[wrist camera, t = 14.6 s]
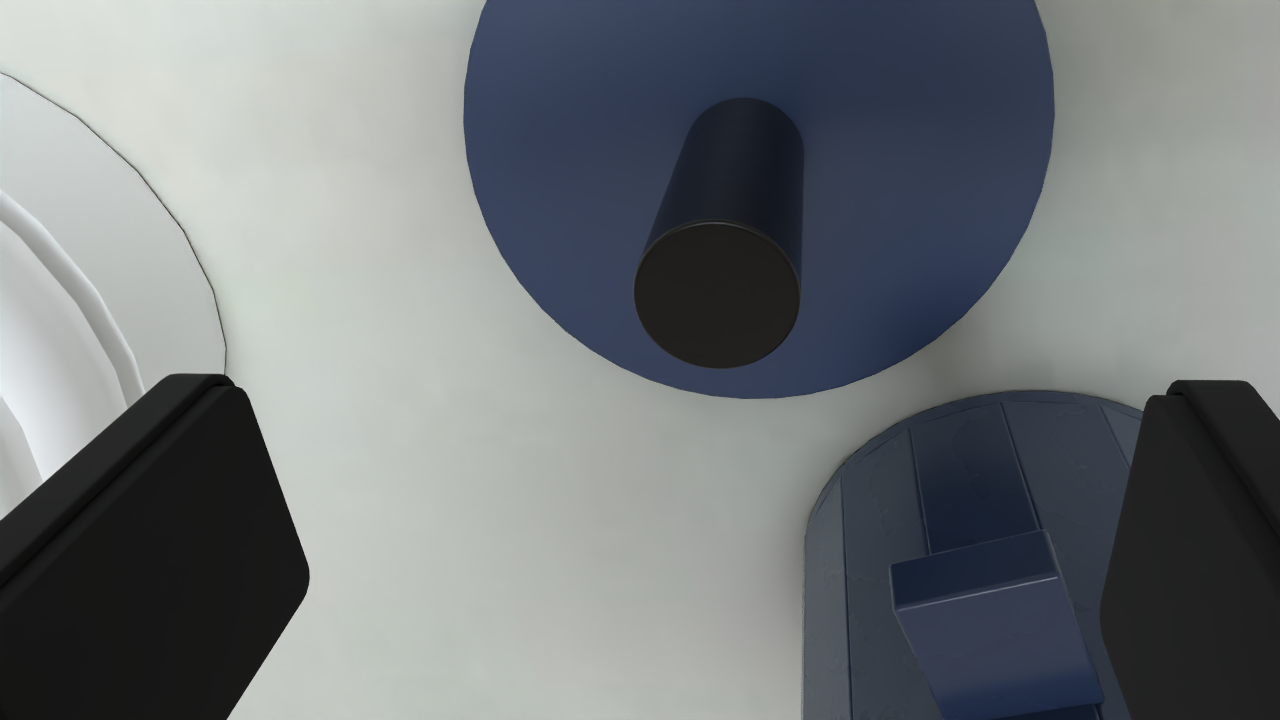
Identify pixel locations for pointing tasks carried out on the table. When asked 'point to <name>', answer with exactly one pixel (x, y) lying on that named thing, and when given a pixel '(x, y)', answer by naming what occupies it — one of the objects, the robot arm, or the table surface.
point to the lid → (758, 175)
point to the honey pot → (84, 291)
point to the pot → (969, 565)
